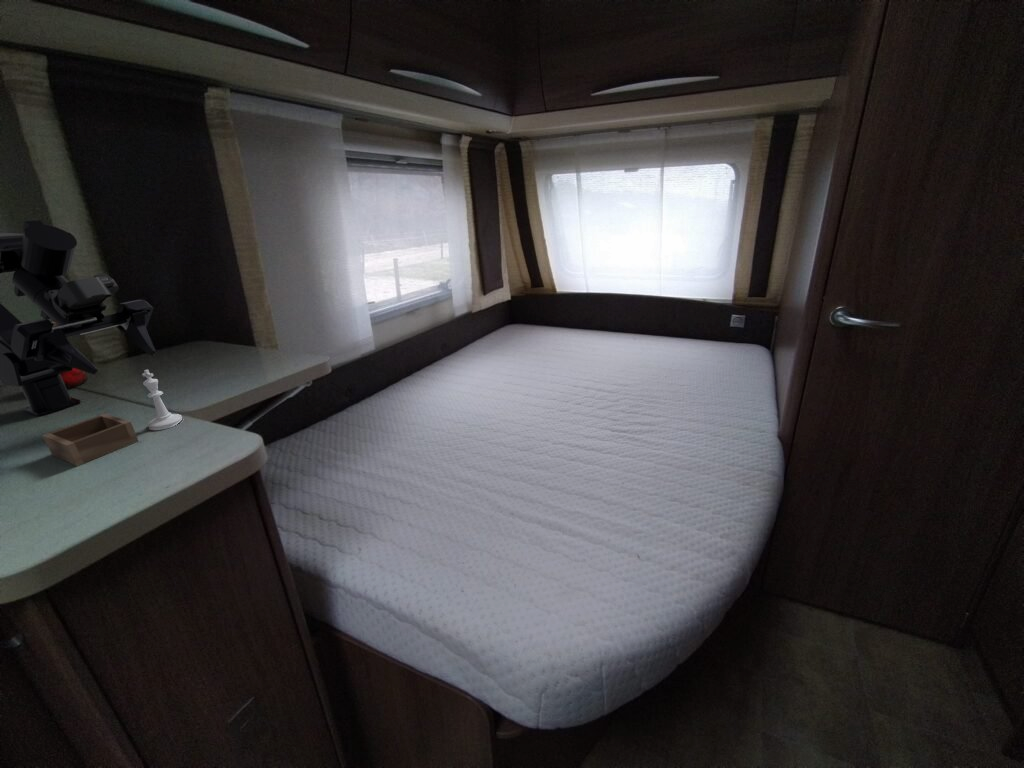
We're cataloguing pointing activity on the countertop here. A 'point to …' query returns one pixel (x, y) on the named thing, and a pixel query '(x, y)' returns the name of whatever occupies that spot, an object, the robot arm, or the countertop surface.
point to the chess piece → (159, 406)
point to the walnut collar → (90, 439)
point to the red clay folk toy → (73, 375)
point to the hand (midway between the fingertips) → (126, 362)
